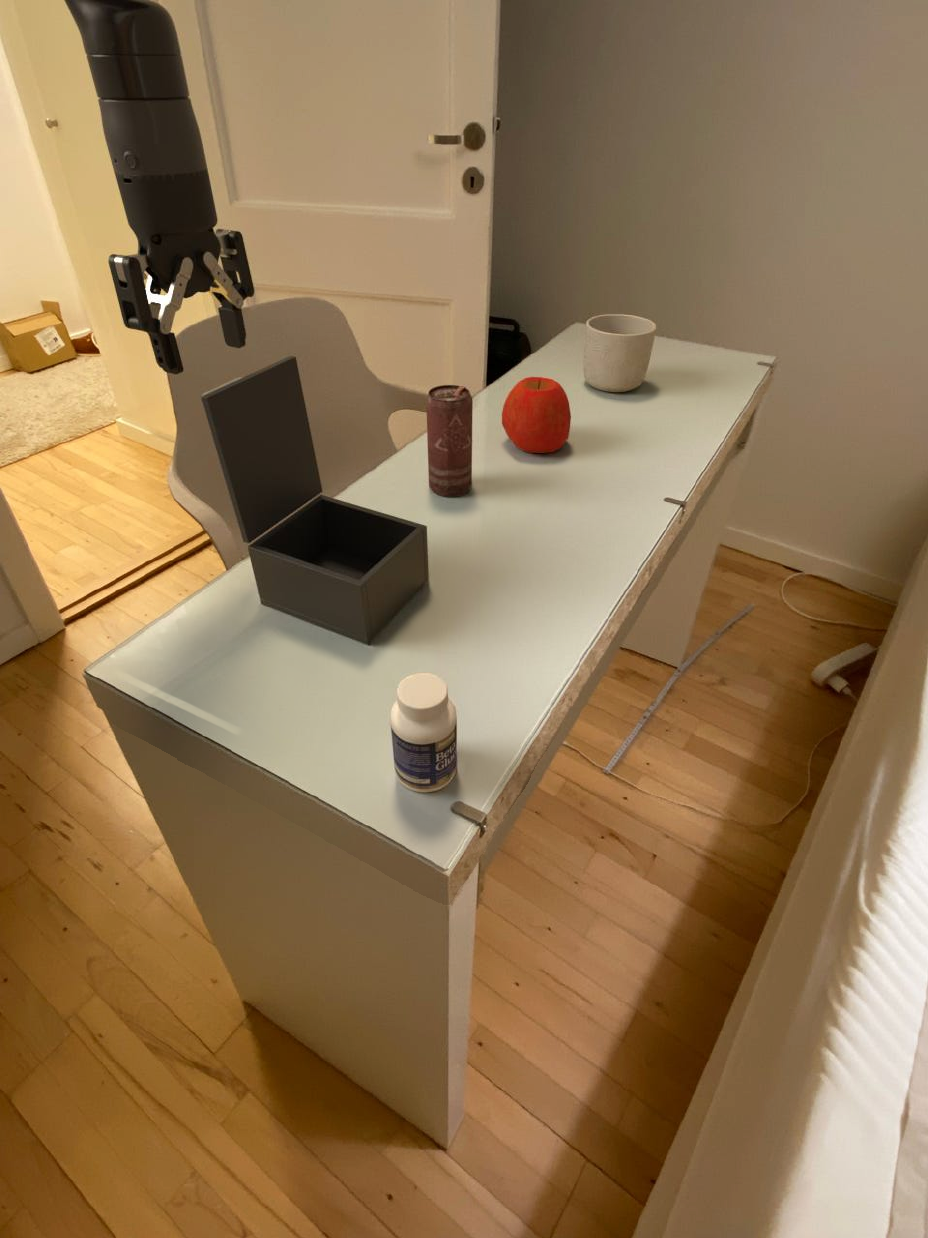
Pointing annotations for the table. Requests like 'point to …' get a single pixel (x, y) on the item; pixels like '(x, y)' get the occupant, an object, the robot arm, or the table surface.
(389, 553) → the hinged lid box
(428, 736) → the pill bottle
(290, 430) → the upright box lid
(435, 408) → the can
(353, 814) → the table surface
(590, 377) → the planter
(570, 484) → the table surface
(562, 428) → the apple
